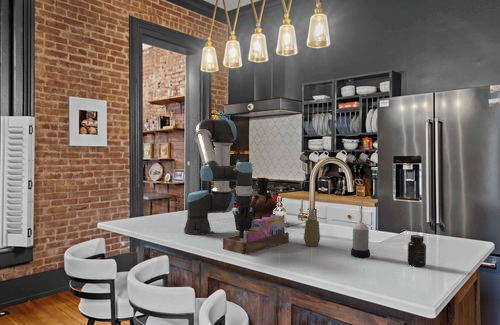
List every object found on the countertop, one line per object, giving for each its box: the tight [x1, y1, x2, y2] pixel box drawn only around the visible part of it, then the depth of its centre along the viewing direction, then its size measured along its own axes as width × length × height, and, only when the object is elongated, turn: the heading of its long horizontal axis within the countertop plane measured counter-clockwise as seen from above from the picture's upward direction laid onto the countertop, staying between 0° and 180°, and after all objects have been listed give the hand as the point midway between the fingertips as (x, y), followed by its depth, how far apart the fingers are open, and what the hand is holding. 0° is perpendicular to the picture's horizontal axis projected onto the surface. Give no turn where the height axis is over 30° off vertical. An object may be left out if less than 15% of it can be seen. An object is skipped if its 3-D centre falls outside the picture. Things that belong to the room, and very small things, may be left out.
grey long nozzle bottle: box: [350, 199, 371, 259], centre depth 163 cm, size 8×8×25 cm
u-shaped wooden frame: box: [222, 231, 290, 255], centre depth 179 cm, size 14×33×5 cm, turn 138°
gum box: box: [247, 213, 286, 242], centre depth 184 cm, size 24×8×14 cm, turn 144°
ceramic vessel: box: [250, 176, 277, 218], centre depth 241 cm, size 21×18×30 cm
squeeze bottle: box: [303, 208, 321, 247], centre depth 181 cm, size 8×8×18 cm
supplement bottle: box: [407, 234, 427, 268], centre depth 150 cm, size 7×7×12 cm
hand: (243, 244), depth 172 cm, fingers closed
